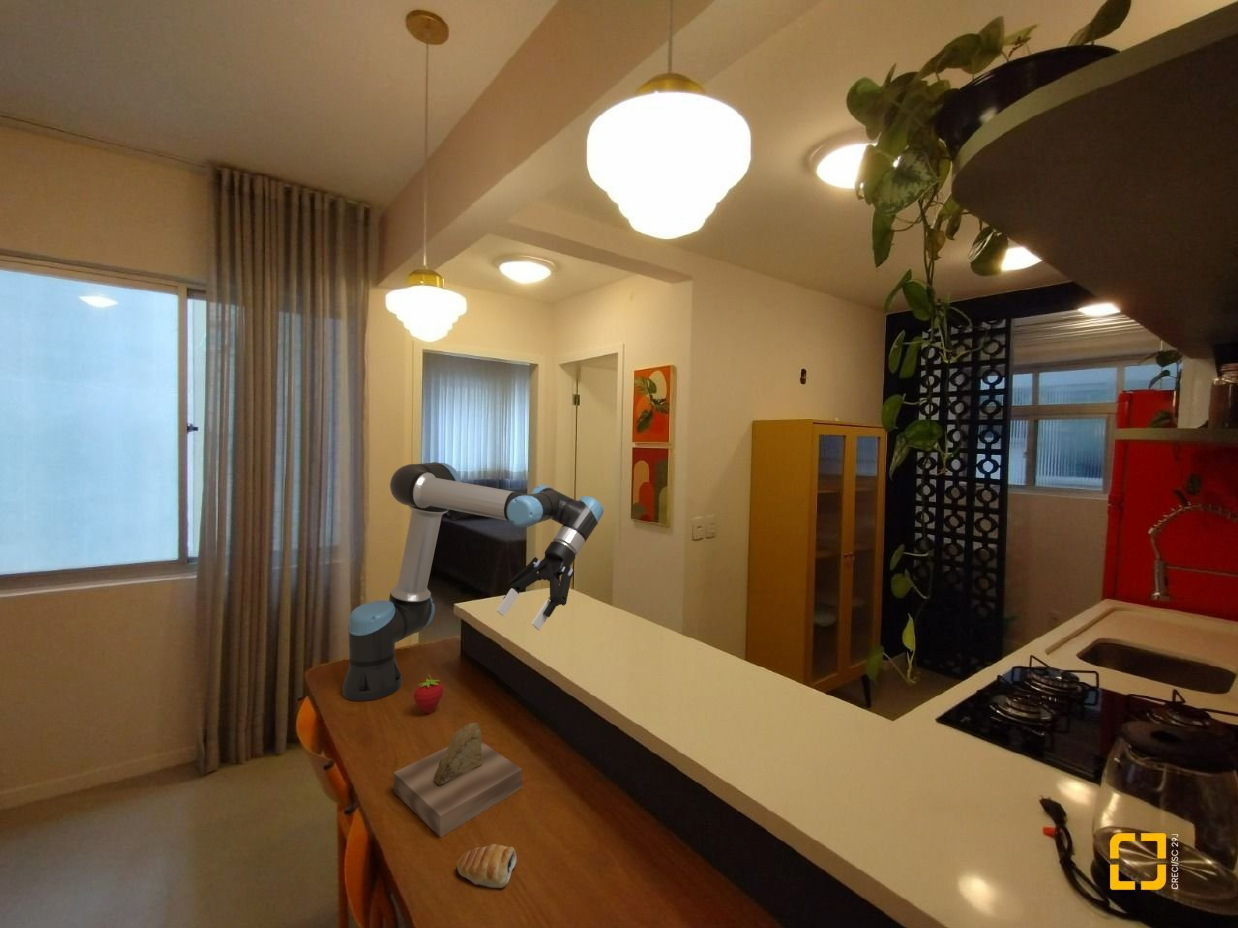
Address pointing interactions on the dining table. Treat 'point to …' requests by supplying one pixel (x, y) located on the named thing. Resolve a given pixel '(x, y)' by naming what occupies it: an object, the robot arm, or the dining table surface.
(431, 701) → the strawberry
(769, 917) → the dining table surface
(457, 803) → the walnut base
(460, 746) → the rock
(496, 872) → the pastry
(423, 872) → the dining table surface
